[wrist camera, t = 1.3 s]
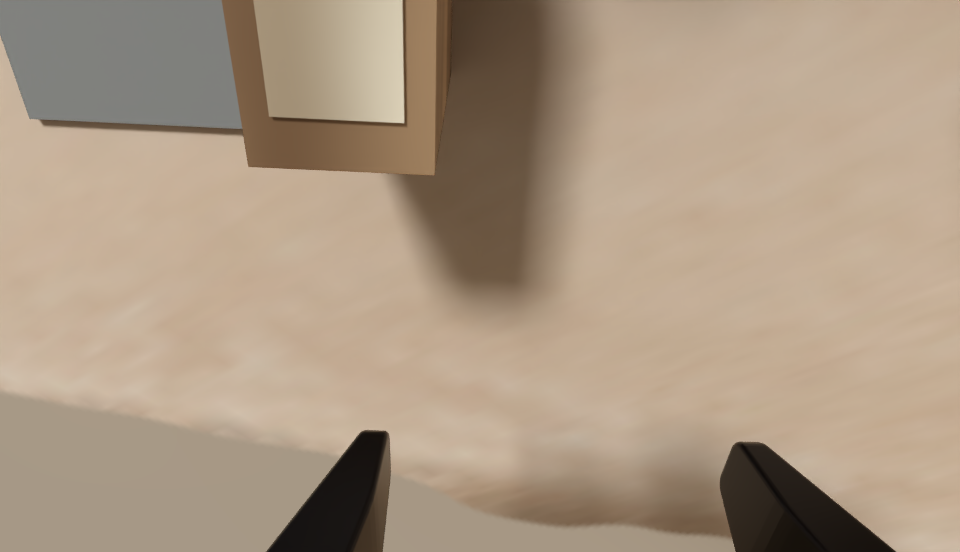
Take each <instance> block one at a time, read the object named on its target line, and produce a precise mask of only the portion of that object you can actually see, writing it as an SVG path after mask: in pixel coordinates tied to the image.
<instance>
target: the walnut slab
mask: <svg viewBox="0 0 960 552" xmlns="http://www.w3.org/2000/svg"><path fill="white" fill-rule="evenodd" d="M222 6H223V12H224V19H225V25H226V31H227V37H228V43H229V50H230V56H231V62H232V68H233V74H234V81H235V87H236V93H237V99H238V105H239V112H240V118H241V124H242V130H243V136H244V143H245V149H246V155H247V161H248V167H262V168H284V169H306V170H328V171H350V172H372V173H394V174H416V175H435V170H436V163H437V157H438V151H439V145H440V138H441V132H442V126H443V120H444V113H445V107H446V101H447V95H448V88H449V82H450V76H451V40H452V0H222Z"/></svg>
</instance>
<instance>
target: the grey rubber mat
mask: <svg viewBox="0 0 960 552" xmlns="http://www.w3.org/2000/svg"><path fill="white" fill-rule="evenodd" d="M0 35H1V38H2V41H3V44H4V47H5V50H6V53H7V55H8V58H9V61H10V64H11V67H12V70H13V73H14V75H15V78H16V81H17V84H18V87H19V90H20V93H21V95H22V98H23V101H24V104H25V107H26V110H27V113H28V115H29V118H30V119H43V120H64V121H85V122H106V123H127V124H148V125H169V126H190V127H211V128H232V129H242V124H241V118H240V112H239V105H238V99H237V93H236V87H235V81H234V74H233V68H232V62H231V56H230V50H229V43H228V37H227V31H226V25H225V19H224V12H223V6H222V0H0Z"/></svg>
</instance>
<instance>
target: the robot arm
mask: <svg viewBox="0 0 960 552" xmlns="http://www.w3.org/2000/svg"><path fill="white" fill-rule="evenodd" d="M390 476H391V462H390V438H389V434H388V432H386V431H376V430H364V431H362V432H361V433H360V434H359V435H358V436H357V437H356V439H355V440H354V441H353V442H352V444H351V445H350V446H349V447H348V449H347V450H346V451H345V452H344V454H343V455H342V456H341V458H340V459H339V460H338V461H337V463H336V464H335V466H333V468H332V469H331V470H330V471H329V473H328V474H327V475H326V477H325V478H324V479H323V480H322V482H321V483H320V484H319V485H318V487H317V488H316V489H315V491H314V492H313V493H312V494H311V496H310V497H309V498H308V499H307V501H306V502H305V503H304V504H303V506H302V507H301V508H300V509H299V511H298V512H297V513H296V515H295V516H294V517H293V518H292V520H291V521H290V522H289V523H288V525H287V526H286V527H285V529H284V530H283V531H282V532H281V534H280V535H279V536H278V537H277V539H276V540H275V541H274V542H273V544H272V545H271V546H270V547H269V549H268V550H267V551H266V552H383V543H384V532H385V524H386V515H387V506H388V496H389V486H390ZM720 491H721V495H722V499H723V503H724V507H725V511H726V515H727V519H728V523H729V527H730V531H731V535H732V539H733V543H734V547H735V551H736V552H896V551H895V550H893V549H892V548H891V547H890V546H889V545H887V544H886V543H885V542H884V541H882V540H881V539H880V538H879V537H878V536H876V535H875V534H874V533H873V532H871V531H870V530H869V529H868V528H867V527H865V526H864V525H863V524H862V523H860V522H859V521H858V520H857V519H856V518H854V517H853V516H852V515H851V514H850V513H848V512H847V511H846V510H845V509H843V508H842V507H841V506H840V505H839V504H837V503H836V502H835V501H834V500H832V499H831V498H830V497H829V496H828V495H826V494H825V493H824V492H823V491H821V490H820V489H819V488H818V487H817V486H815V485H814V484H813V483H812V482H811V481H809V480H808V479H807V478H806V477H804V476H803V475H802V474H801V473H800V472H798V471H797V470H796V469H795V468H793V467H792V466H791V465H790V464H789V463H787V462H786V461H785V460H784V459H782V458H781V457H780V456H779V455H778V454H776V453H775V452H774V451H773V450H772V449H770V448H769V447H768V446H766V445H765V444H763V443H759V442H737V443H735V444H734V445H733V447H732V449H731V451H730V454H729V456H728V459H727V461H726V464H725V466H724V469H723V472H722V474H721V478H720Z"/></svg>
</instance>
